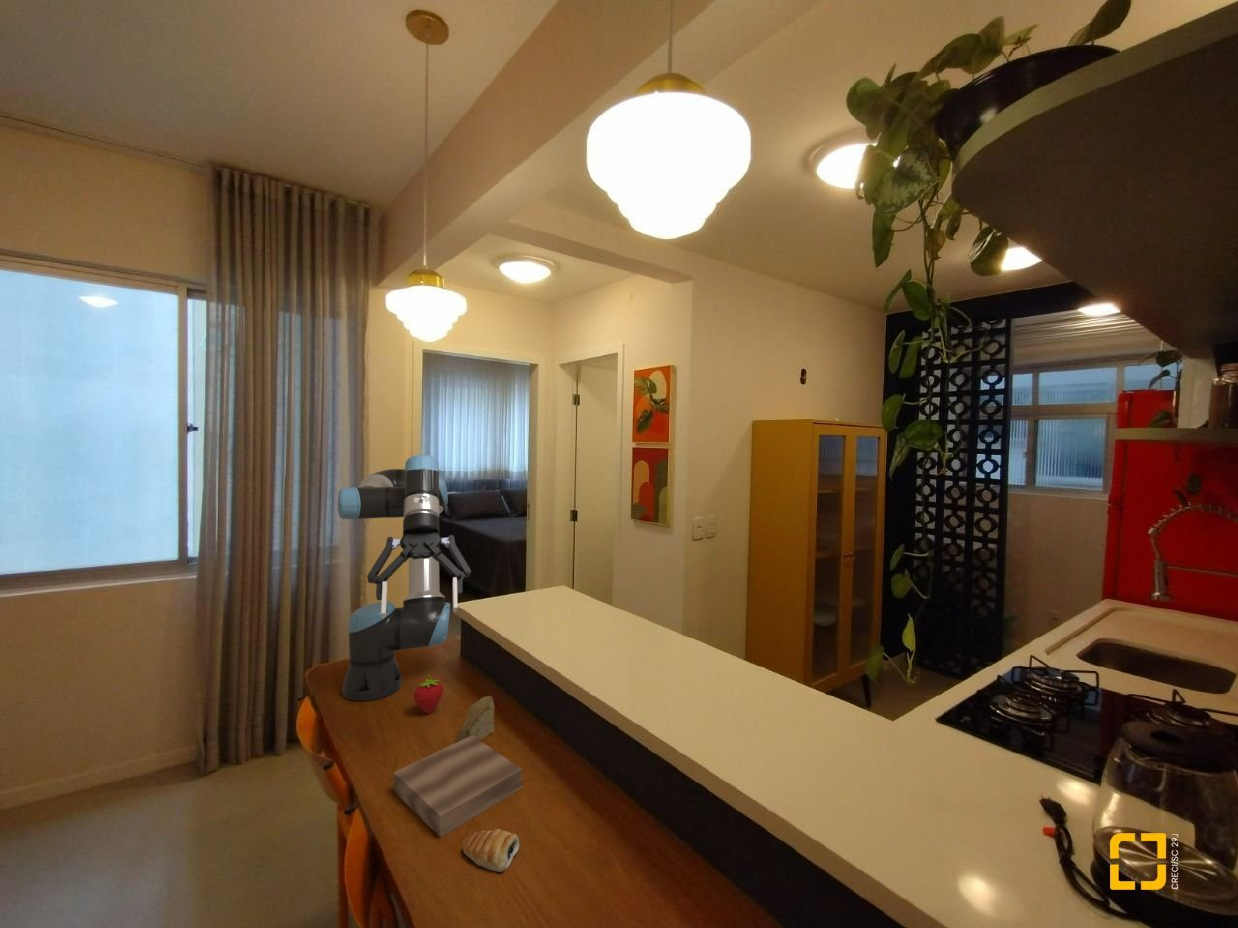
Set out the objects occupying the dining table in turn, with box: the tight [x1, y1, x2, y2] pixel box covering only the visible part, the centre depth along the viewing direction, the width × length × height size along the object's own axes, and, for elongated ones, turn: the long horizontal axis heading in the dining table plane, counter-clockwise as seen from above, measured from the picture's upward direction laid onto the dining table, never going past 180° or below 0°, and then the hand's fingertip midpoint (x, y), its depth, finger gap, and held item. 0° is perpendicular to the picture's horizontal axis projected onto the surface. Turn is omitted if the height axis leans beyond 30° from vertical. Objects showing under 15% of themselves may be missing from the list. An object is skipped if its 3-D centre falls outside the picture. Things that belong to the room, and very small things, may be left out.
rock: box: [455, 695, 496, 743], centre depth 125 cm, size 11×9×10 cm
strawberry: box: [413, 673, 444, 714], centre depth 135 cm, size 6×8×10 cm
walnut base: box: [393, 735, 523, 839], centre depth 106 cm, size 18×18×4 cm
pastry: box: [462, 828, 520, 873], centre depth 90 cm, size 9×7×4 cm
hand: (420, 612), depth 106 cm, fingers open, 13 cm apart
